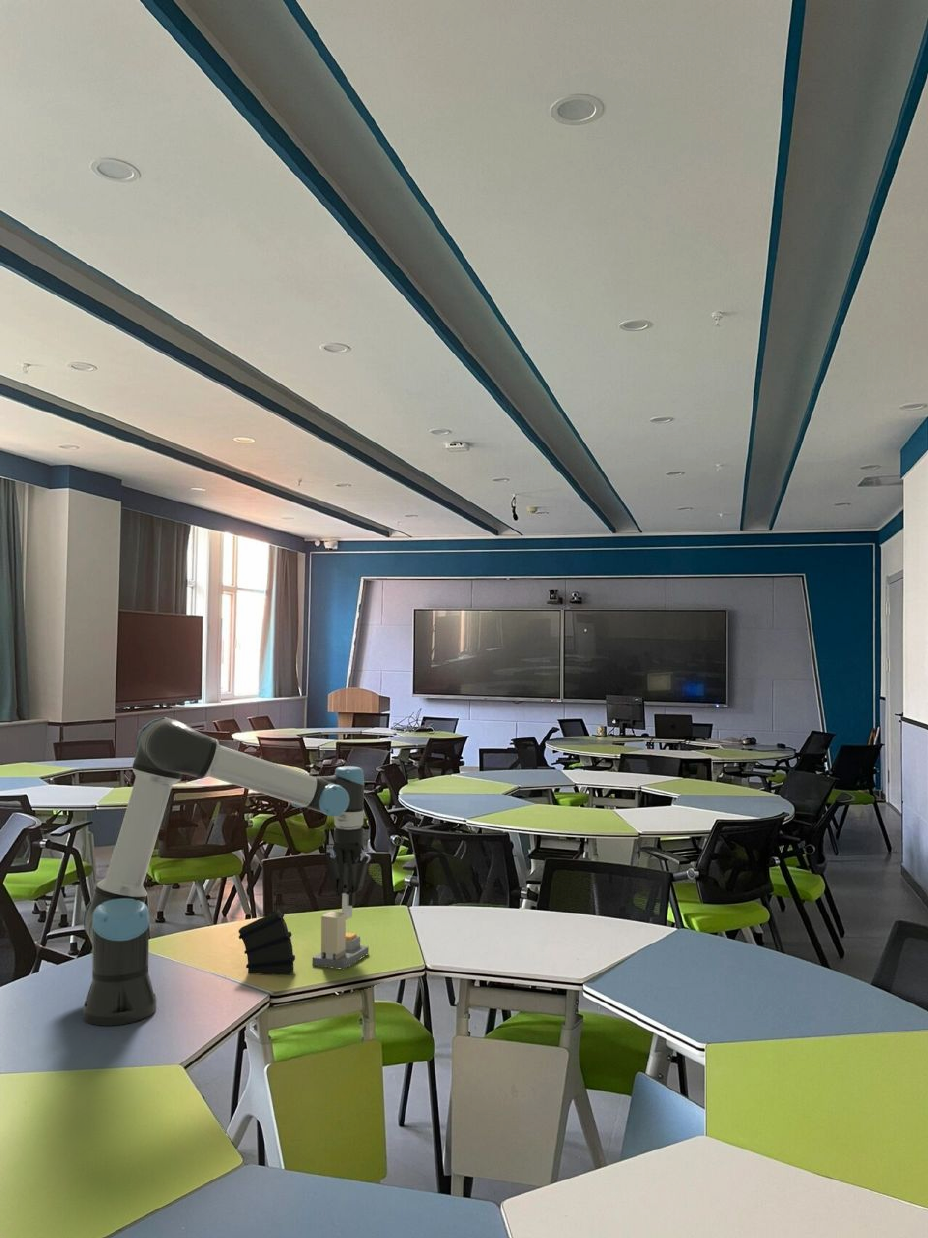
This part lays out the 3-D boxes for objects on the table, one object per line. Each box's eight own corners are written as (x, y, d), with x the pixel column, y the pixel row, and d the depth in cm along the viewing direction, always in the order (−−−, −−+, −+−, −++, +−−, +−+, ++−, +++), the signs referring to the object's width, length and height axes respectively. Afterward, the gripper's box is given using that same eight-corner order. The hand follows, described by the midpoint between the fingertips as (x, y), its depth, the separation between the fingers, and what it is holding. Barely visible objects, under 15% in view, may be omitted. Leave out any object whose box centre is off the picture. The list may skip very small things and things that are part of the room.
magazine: (304, 968, 233) (277, 912, 234) (255, 991, 233) (229, 935, 234) (307, 963, 237) (281, 908, 237) (259, 986, 237) (233, 931, 237)
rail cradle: (312, 965, 240) (312, 947, 240) (338, 950, 252) (338, 933, 252) (343, 970, 237) (343, 951, 237) (368, 954, 249) (368, 936, 249)
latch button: (340, 947, 247) (340, 935, 247) (346, 944, 250) (346, 932, 250) (350, 948, 246) (350, 937, 246) (356, 945, 249) (356, 933, 249)
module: (321, 957, 240) (321, 916, 240) (329, 952, 244) (330, 911, 244) (337, 959, 238) (337, 917, 238) (345, 954, 242) (345, 913, 242)
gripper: (319, 826, 248) (317, 918, 247) (363, 831, 243) (362, 924, 242) (334, 822, 255) (332, 911, 254) (377, 826, 250) (375, 917, 249)
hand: (346, 917), depth 248 cm, fingers closed
